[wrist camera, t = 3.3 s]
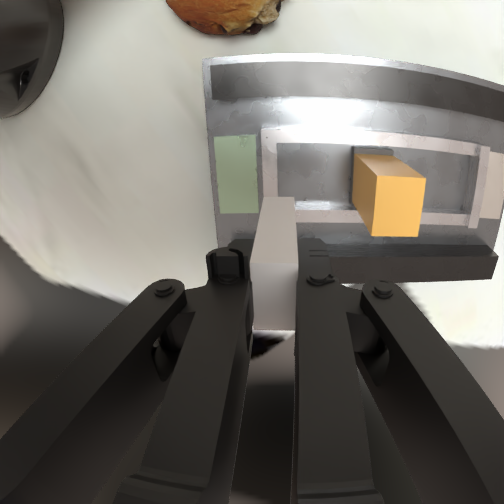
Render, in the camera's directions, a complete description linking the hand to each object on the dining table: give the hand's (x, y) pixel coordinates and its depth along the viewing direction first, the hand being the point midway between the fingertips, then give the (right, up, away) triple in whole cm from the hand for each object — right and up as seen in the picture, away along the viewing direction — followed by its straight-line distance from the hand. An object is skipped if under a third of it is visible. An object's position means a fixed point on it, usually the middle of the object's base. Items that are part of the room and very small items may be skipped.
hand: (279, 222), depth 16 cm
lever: (+7, +4, +6) cm, 11 cm away
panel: (+9, +5, +8) cm, 13 cm away
